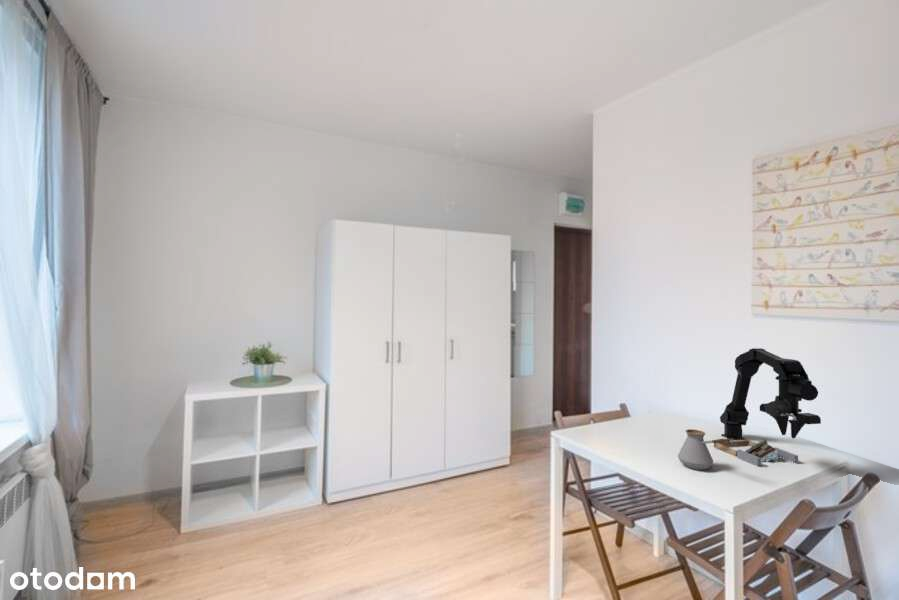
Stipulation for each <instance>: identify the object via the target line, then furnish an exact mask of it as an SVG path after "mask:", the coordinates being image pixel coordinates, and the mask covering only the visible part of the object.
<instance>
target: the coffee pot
mask: <svg viewBox="0 0 899 600" xmlns="http://www.w3.org/2000/svg"><path fill="white" fill-rule="evenodd" d="M685 433H686V435H687V436H686V438H685V440H684V443H683V444H682V447H681V448H680V450H679V452H678V454H677V458H678V460H679V461H680V463H682V464H683V466H684V467H686V468H689V469H692V470H696V471H705V470H708V469H710V467H712V466H713V464H714V460H713V457H712V456H711V455H712V454H711V453H710V451H709V449H708V446H707V444H712V443H713V444H714V443H723V442H730V441H736V444H737V441H738V440H735V439H733V438H731V439H730V438H727V437H726V438H718V439H713V440H712V439H711V440H705V439H704V436H705V435H706V432H705V431H702V430H698V429H691V428H689V429H686V430H685ZM732 444H733V443H732ZM736 444H734V445H736Z"/></svg>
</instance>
